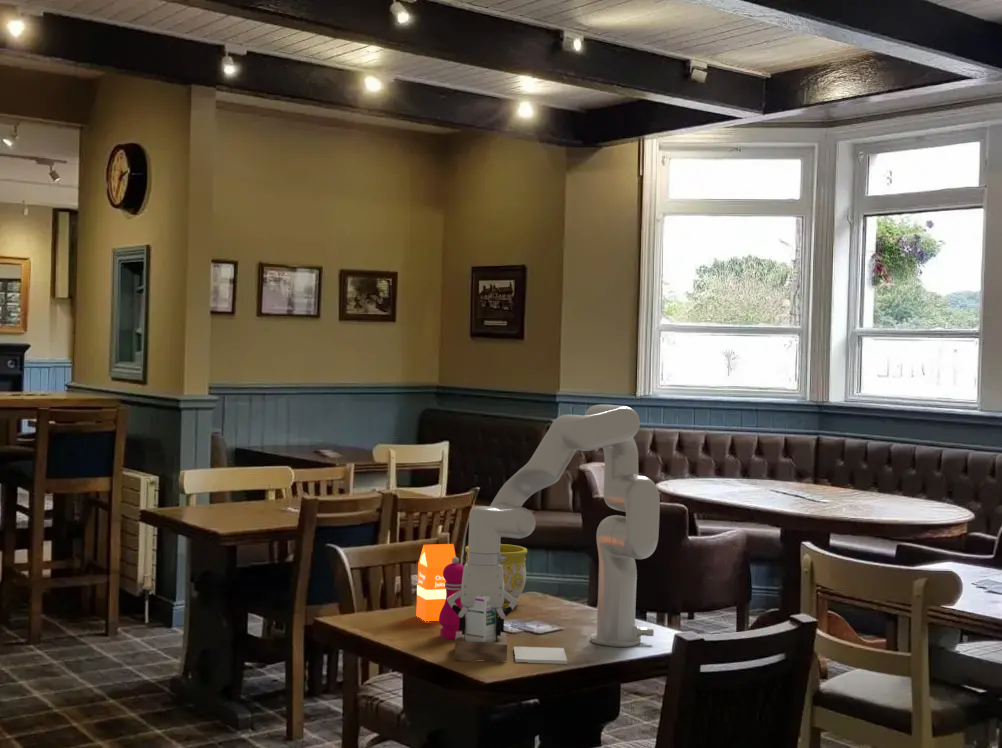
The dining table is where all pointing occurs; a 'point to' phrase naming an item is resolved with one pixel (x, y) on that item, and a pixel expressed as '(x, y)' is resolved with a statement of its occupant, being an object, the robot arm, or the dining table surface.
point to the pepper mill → (452, 585)
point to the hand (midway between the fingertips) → (481, 633)
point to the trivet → (540, 655)
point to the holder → (481, 649)
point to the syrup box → (481, 621)
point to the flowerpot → (512, 570)
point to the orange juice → (432, 580)
